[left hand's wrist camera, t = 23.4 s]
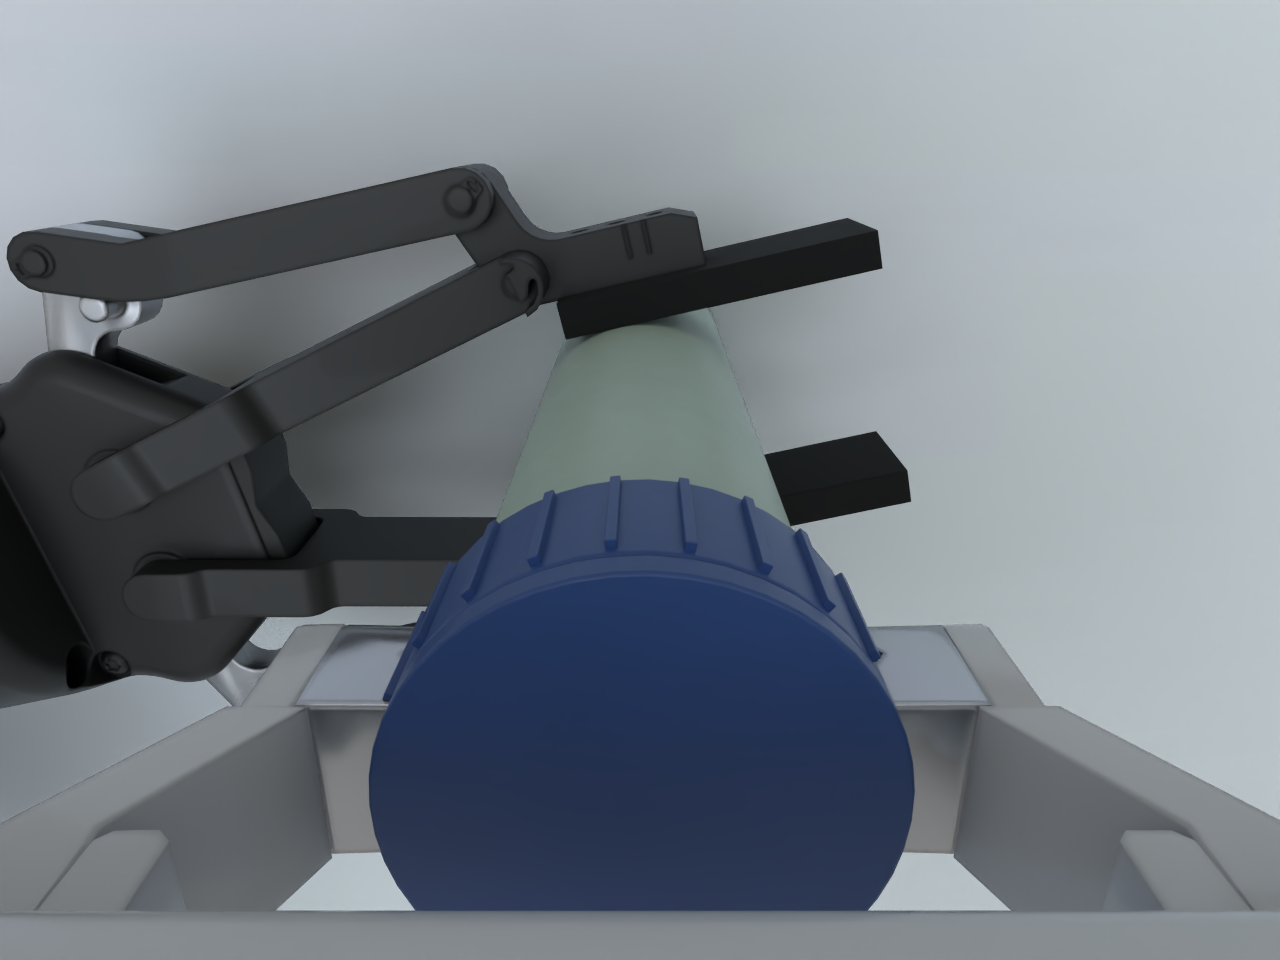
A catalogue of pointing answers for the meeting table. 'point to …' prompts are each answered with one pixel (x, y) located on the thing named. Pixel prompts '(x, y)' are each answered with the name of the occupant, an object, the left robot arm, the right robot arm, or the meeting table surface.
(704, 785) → the lid
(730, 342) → the meeting table surface
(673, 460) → the jar
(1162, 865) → the left robot arm
